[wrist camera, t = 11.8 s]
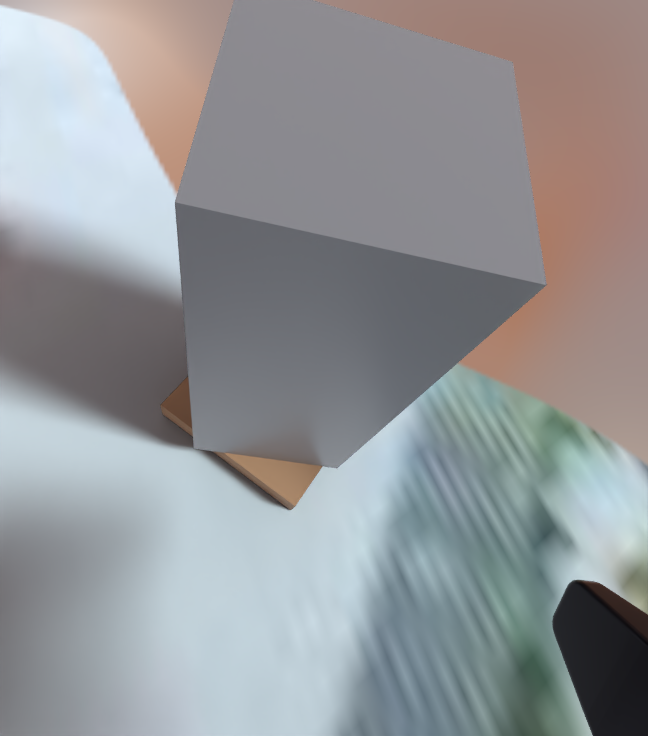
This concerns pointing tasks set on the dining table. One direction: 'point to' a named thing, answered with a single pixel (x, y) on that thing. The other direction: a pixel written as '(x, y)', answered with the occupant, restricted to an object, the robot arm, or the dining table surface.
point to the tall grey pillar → (344, 227)
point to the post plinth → (248, 457)
